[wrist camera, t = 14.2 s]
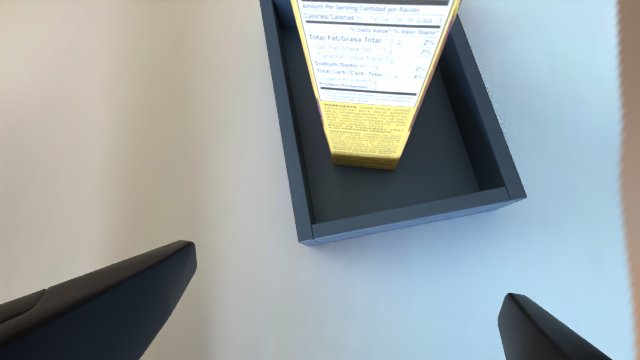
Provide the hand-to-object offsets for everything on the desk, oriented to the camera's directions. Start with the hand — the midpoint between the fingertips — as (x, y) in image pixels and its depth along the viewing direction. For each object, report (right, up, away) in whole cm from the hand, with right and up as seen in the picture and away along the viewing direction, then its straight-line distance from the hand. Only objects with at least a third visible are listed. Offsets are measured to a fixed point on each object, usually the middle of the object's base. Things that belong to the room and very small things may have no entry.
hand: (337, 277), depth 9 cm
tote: (+3, +8, +12) cm, 15 cm away
